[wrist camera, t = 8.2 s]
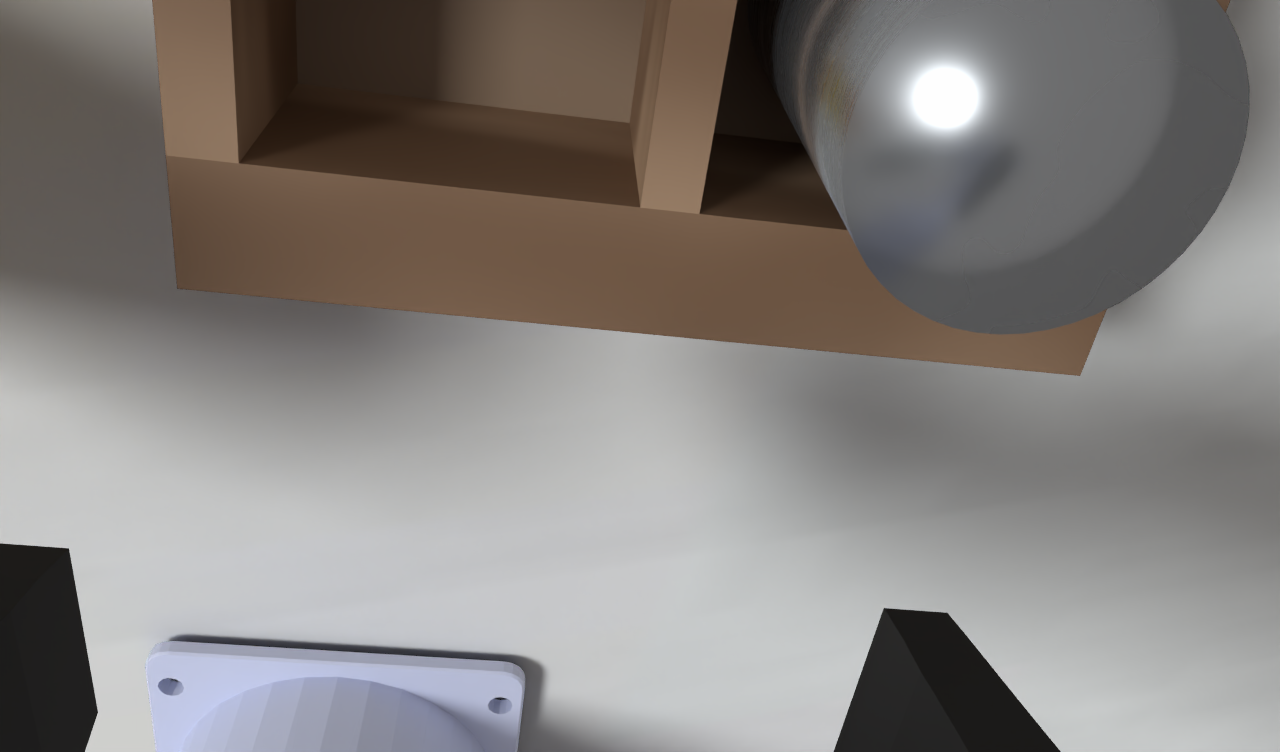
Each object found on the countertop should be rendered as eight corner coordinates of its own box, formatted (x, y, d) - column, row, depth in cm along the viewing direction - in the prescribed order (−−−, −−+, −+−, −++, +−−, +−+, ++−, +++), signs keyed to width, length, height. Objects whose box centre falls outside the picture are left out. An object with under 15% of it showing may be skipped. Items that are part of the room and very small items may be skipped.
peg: (978, 128, 18) (1178, 337, 12) (736, 121, 18) (817, 332, 12) (1034, -140, 16) (1310, -48, 10) (761, -153, 16) (875, -67, 10)
